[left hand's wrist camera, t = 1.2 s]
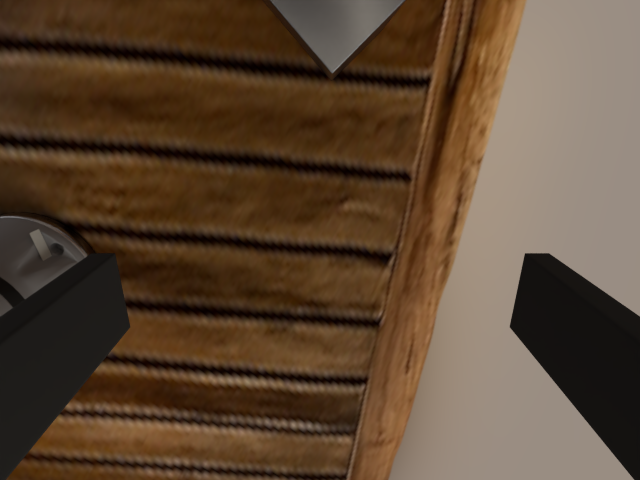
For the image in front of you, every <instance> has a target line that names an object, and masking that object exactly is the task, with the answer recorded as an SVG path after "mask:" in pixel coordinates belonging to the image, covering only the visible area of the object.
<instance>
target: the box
mask: <svg viewBox="0 0 640 480" xmlns="http://www.w3.org/2000/svg"><path fill="white" fill-rule="evenodd" d="M263 1H264V3H265V4H266V5H267V6H268V7H269V8H270V10H271V11H272V12H273V13H274V14H275V15H276V17H277V18H278V19H279V20H280V21H281V22H282V24H283V25H284V26H285V27H286V28H287V29H288V31H289V32H290V33H291V34H292V35H293V37H294V38H295V39H296V40H297V41H298V42H299V44H300V45H301V46H302V47H303V48H304V49H305V51H306V52H307V53H308V54H309V55H310V56H311V58H312V59H313V60H314V61H315V62H316V63H317V65H318V66H319V67H320V68H321V69H322V70H323V72H324V73H325V74H326V75H327V76H328V78H329V79H330V80H331V81H332V80H333V79H334V78H335V77H336V76H337V75H338V74H339V73H340V72H341V71H342V70H343V69H344V68H345V67H346V66H347V65H348V64H349V63H350V62H351V61H352V60H353V59H354V58H355V57H356V56H357V55H358V54H359V53H360V52H361V51H362V50H363V49H364V48H365V47H366V46H367V45H368V44H369V43H370V42H371V41H372V40H373V39H374V38H375V37H376V36H377V35H378V34H379V33H380V32H381V31H382V29H383V28H384V27H385V26H386V24H387V23H388V22H389V21H390V19H391V18H392V17H393V16H394V14H395V13H396V12H397V11H398V9H399V8H400V7H401V6H402V4H403V3H404V2H405V1H406V0H263Z"/></svg>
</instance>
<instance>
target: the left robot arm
mask: <svg viewBox="0 0 640 480" xmlns="http://www.w3.org/2000/svg"><path fill="white" fill-rule="evenodd" d="M129 328H130V323H129V319H128V314H127V309H126V304H125V299H124V295H123V290H122V285H121V280H120V275H119V270H118V266H117V261H116V256H115V253H95V252H94V251H93V250H92V248H91V247H90V246H89V245H88V244H87V243H86V242H85V241H84V239H82V238H81V237H80V236H79V235H78V234H77V233H75V232H74V231H73V230H71V229H70V228H68V227H67V226H65V225H63V224H62V223H60V222H58V221H55V220H53V219H51V218H48V217H45V216H42V215H38V214H33V213H25V212H14V213H7V214H2V215H0V480H6V479H7V477H8V476H9V475H10V474H11V473H12V471H13V470H14V469H15V468H16V466H17V465H18V464H19V463H20V461H21V460H22V459H23V458H24V457H25V455H26V454H27V453H28V452H29V450H30V449H31V448H32V447H33V446H34V444H35V443H36V442H37V441H38V439H39V438H40V437H41V436H42V435H43V433H44V432H45V431H46V430H47V428H48V427H49V426H50V425H51V423H52V422H53V421H54V420H55V419H56V417H57V416H58V415H59V414H60V412H61V411H62V410H63V409H64V408H65V406H66V405H67V404H68V403H69V401H70V400H71V399H72V398H73V397H74V395H75V394H76V393H77V392H78V390H79V389H80V388H81V387H82V385H83V384H84V383H85V382H86V381H87V379H88V378H89V377H90V376H91V374H92V373H93V372H94V371H95V370H96V368H97V367H98V366H99V365H100V363H101V362H102V361H103V360H104V359H105V357H106V356H107V355H108V354H109V352H110V351H111V350H112V349H113V347H114V346H115V345H116V344H117V343H118V341H119V340H120V339H121V338H122V336H123V335H124V334H125V333H126V332H127V330H128V329H129ZM510 328H511V329H512V330H513V332H514V333H515V334H516V335H517V336H518V338H519V339H520V340H521V341H522V343H523V344H524V345H525V346H526V347H527V349H528V350H529V351H530V352H531V354H532V355H533V356H534V357H535V359H536V360H537V361H538V362H539V363H540V365H541V366H542V367H543V368H544V370H545V371H546V372H547V373H548V374H549V376H550V377H551V378H552V379H553V381H554V382H555V383H556V384H557V385H558V387H559V388H560V389H561V390H562V392H563V393H564V394H565V395H566V396H567V398H568V399H569V400H570V401H571V403H572V404H573V405H574V406H575V408H576V409H577V410H578V411H579V412H580V414H581V415H582V416H583V417H584V419H585V420H586V421H587V422H588V423H589V425H590V426H591V427H592V428H593V430H594V431H595V432H596V433H597V434H598V436H599V437H600V438H601V439H602V441H603V442H604V443H605V444H606V446H607V447H608V448H609V449H610V450H611V452H612V453H613V454H614V455H615V457H616V458H617V459H618V460H619V461H620V463H621V464H622V465H623V466H624V468H625V469H626V470H627V471H628V473H629V474H630V475H631V476H632V477H633V479H634V480H640V316H638V315H637V314H635V313H634V312H632V311H631V310H630V309H628V308H627V307H625V306H624V305H622V304H621V303H619V302H618V301H617V300H615V299H614V298H612V297H611V296H609V295H608V294H607V293H605V292H604V291H602V290H601V289H599V288H598V287H596V286H595V285H594V284H592V283H591V282H589V281H588V280H586V279H585V278H584V277H582V276H581V275H579V274H578V273H576V272H575V271H573V270H572V269H570V268H569V267H568V266H566V265H565V264H563V263H562V262H560V261H559V260H558V259H556V258H555V257H553V256H552V255H550V254H549V253H544V254H542V253H540V254H539V253H538V254H537V253H530V254H529V253H527V254H525V256H524V261H523V266H522V270H521V275H520V280H519V285H518V290H517V295H516V299H515V304H514V309H513V314H512V319H511V323H510Z"/></svg>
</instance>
